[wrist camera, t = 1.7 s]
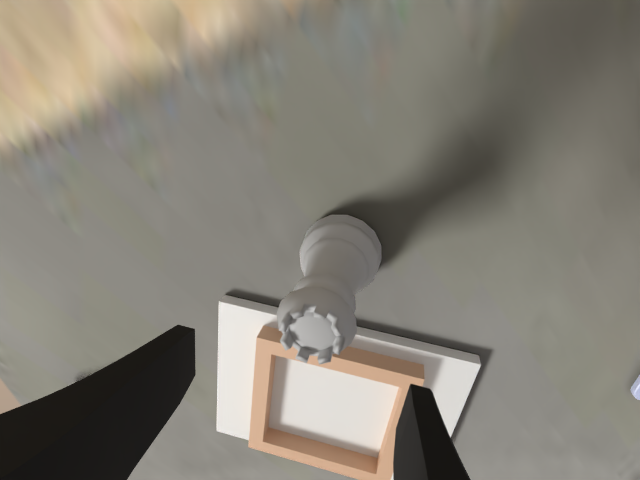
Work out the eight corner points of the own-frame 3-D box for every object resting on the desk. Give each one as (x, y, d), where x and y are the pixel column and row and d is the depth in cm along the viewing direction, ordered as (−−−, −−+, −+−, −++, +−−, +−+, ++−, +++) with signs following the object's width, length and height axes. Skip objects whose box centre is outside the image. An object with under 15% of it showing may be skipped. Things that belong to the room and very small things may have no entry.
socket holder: (478, 355, 22) (484, 380, 20) (427, 481, 27) (428, 509, 26) (224, 294, 24) (209, 312, 22) (221, 422, 29) (209, 444, 28)
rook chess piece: (398, 239, 20) (395, 330, 13) (355, 296, 22) (331, 401, 15) (328, 195, 20) (285, 263, 13) (291, 256, 22) (236, 344, 15)
